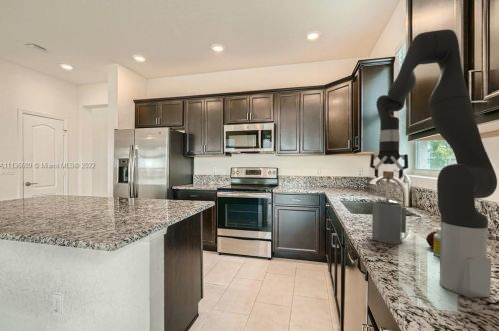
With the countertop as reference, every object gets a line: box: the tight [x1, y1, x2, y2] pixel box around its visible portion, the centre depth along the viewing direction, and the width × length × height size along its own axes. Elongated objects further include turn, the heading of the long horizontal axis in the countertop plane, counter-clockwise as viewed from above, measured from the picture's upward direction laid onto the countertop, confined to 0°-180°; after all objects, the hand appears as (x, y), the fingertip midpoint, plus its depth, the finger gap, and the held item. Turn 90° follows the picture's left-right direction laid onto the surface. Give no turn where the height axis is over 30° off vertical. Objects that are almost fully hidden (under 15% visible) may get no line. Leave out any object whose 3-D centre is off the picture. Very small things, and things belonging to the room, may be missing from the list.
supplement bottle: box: [432, 227, 441, 258], centre depth 87 cm, size 5×5×10 cm
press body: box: [371, 200, 407, 245], centre depth 104 cm, size 11×14×16 cm
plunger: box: [382, 170, 395, 205], centre depth 104 cm, size 8×8×18 cm
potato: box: [426, 230, 437, 249], centre depth 94 cm, size 7×8×7 cm
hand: (388, 178), depth 104 cm, fingers open, 8 cm apart
